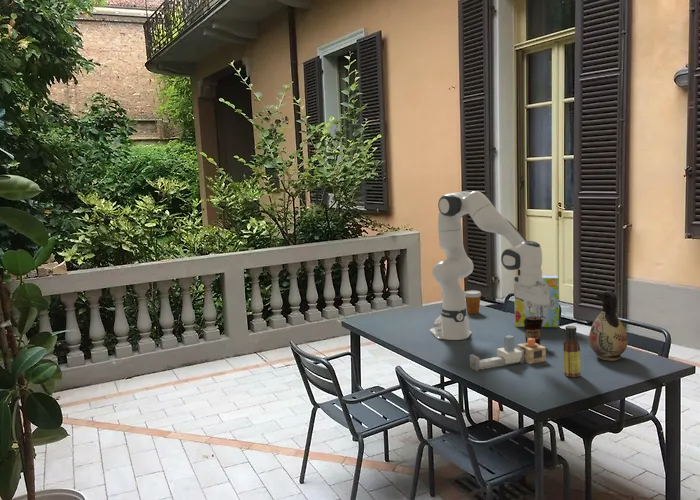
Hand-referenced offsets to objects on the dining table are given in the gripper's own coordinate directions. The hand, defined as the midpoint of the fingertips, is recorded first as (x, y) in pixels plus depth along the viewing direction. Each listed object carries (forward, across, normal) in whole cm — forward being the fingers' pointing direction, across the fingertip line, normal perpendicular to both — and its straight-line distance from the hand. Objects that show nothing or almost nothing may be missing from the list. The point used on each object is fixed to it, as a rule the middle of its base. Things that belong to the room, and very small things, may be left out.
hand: (531, 311), depth 259 cm
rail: (+21, 0, +17) cm, 27 cm away
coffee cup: (+21, +16, -13) cm, 29 cm away
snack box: (+21, +42, -34) cm, 58 cm away
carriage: (+20, 0, +11) cm, 23 cm away
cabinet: (+21, 0, 0) cm, 21 cm away
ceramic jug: (+21, -13, -30) cm, 39 cm away
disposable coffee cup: (+21, +80, -19) cm, 85 cm away
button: (+17, 0, 0) cm, 17 cm away
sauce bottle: (+21, -23, -2) cm, 32 cm away
